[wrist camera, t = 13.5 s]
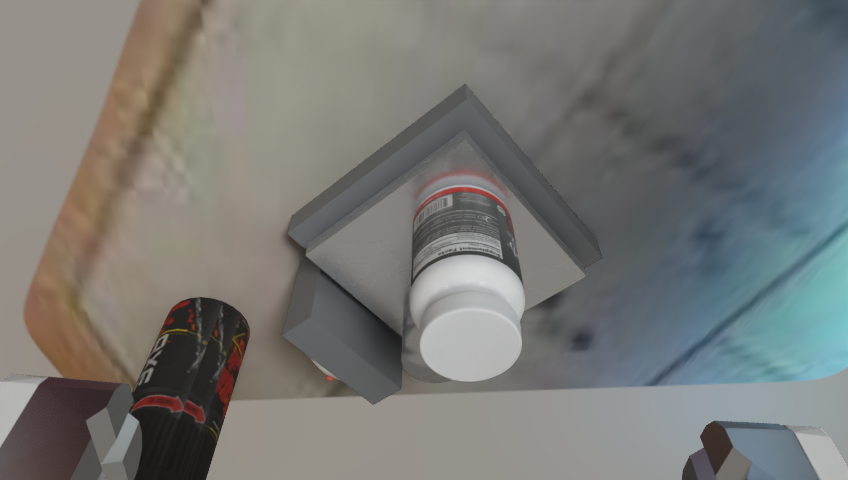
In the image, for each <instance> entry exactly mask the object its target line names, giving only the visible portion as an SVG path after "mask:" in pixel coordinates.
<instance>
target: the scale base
mask: <svg viewBox="0 0 848 480" xmlns="http://www.w3.org/2000/svg"><path fill="white" fill-rule="evenodd" d="M463 130H465V131H466V132H467V133H468V134H469V135H470V137H471V138H472V139H473V140H474V141H475V142H476V143H477V145H478V146H479V147H480V148H481V149H482V150H483V151H484V152H485V154H486V155H487V156H488V157H489V158H490V159H491V160H492V162H493V163H494V164H495V165H496V166H497V167H498V168H499V170H500V171H501V172H502V173H503V174H504V175H505V176H506V177H507V179H508V180H509V181H510V182H511V183H512V184H513V185H514V187H515V188H516V189H517V190H518V191H519V192H520V193H521V195H522V196H523V197H524V198H525V199H526V200H527V201H528V202H529V204H530V205H531V206H532V207H533V208H534V209H535V210H536V212H537V213H538V214H539V215H540V216H541V217H542V218H543V219H544V221H545V222H546V223H547V224H548V225H549V226H550V227H551V229H552V230H553V231H554V232H555V233H556V234H557V235H558V237H559V238H560V239H561V240H562V241H563V242H564V243H565V244H566V246H567V247H568V248H569V249H570V250H571V251H572V252H573V254H574V255H575V256H576V257H577V258H578V259H579V260H580V262H581V263H582V264H583V267H584V268H586V267H587V266H589V265H591V264H593V263H594V262H596V261H598V260H599V259H601V258H602V255H601V252H600V249H599V246H598V244H597V241H596V239H595V237H594V236H593V235H592V234H591V233H590V231H589V230H588V229H587V228H586V227H585V225H584V224H583V223H582V222H581V221H580V220H579V218H578V217H577V216H576V215H575V214H574V212H573V211H572V210H571V209H570V208H569V206H568V205H567V204H566V203H565V202H564V200H563V199H562V198H561V197H560V196H559V195H558V193H557V192H556V191H555V190H554V189H553V187H552V186H551V185H550V184H549V183H548V181H547V180H546V179H545V178H544V177H543V176H542V174H541V173H540V172H539V171H538V170H537V168H536V167H535V166H534V165H533V164H532V162H531V161H530V160H529V159H528V158H527V157H526V155H525V154H524V153H523V152H522V151H521V149H520V148H519V147H518V146H517V145H516V143H515V142H514V141H513V140H512V139H511V138H510V136H509V135H508V134H507V133H506V132H505V130H504V129H503V128H502V127H501V126H500V124H499V123H498V122H497V121H496V120H495V119H494V117H493V116H492V115H491V114H490V113H489V111H488V110H487V109H486V108H485V107H484V105H483V104H482V103H481V102H480V101H479V100H478V98H477V97H476V96H475V95H474V94H473V92H472V91H471V90H470V89H469V88H468V86H467V85H466V84H465V85H463V86H462V87H461V88H459V89H458V90H457V91H455V92H454V93H453V94H451V95H450V96H449V97H448V98H446V99H445V100H444V101H442V102H441V103H440V104H438V105H437V106H436V107H434V108H433V109H432V110H430V111H429V112H428V113H426V114H425V115H424V116H423V117H421V118H420V119H419V120H417V121H416V122H415V123H413V124H412V125H411V126H409V127H408V128H407V129H405V130H404V131H403V132H402V133H400V134H399V135H398V136H396V137H395V138H394V139H392V140H391V141H390V142H388V143H387V144H386V145H384V146H383V147H382V148H380V149H379V150H378V151H377V152H375V153H374V154H373V155H371V156H370V157H369V158H367V159H366V160H365V161H363V162H362V163H361V164H359V165H358V166H357V167H356V168H354V169H353V170H352V171H350V172H349V173H348V174H346V175H345V176H344V177H342V178H341V179H340V180H338V181H337V182H336V183H334V184H333V185H332V186H331V187H329V188H328V189H327V190H325V191H324V192H323V193H321V194H320V195H319V196H317V197H316V198H315V199H313V200H312V201H311V202H310V203H308V204H307V205H306V206H304V207H303V208H302V209H300V210H299V211H298V212H296V213H295V214H294V215H292V219H291V222H290V226H289V229H288V232H287V234H288V235H289V236H290V237H291V238H293V239H294V240H295V241H296V242H297V243H299V244H300V245H301V246H302V247H303V248H304V249H306V250H307V246H308V243H309V242H311V241H312V240H313V239H315V238H316V237H317V236H319V235H320V234H322V233H323V232H324V231H326V230H327V229H328V228H330V227H331V226H333V225H334V224H335V223H337V222H338V221H339V220H341V219H342V218H344V217H345V216H346V215H348V214H349V213H350V212H352V211H353V210H355V209H356V208H357V207H359V206H360V205H361V204H363V203H364V202H366V201H367V200H368V199H370V198H371V197H372V196H374V195H375V194H377V193H378V192H379V191H381V190H382V189H383V188H385V187H386V186H388V185H389V184H390V183H392V182H393V181H394V180H396V179H397V178H399V177H400V176H401V175H403V174H404V173H405V172H407V171H408V170H409V169H411V168H412V167H414V166H415V165H416V164H418V163H419V162H420V161H422V160H423V159H425V158H426V157H427V156H429V155H430V154H431V153H433V152H434V151H436V150H437V149H438V148H440V147H441V146H442V145H444V144H445V143H447V142H448V141H449V140H451V139H452V138H453V137H455V136H456V135H458V134H459V133H460V132H462V131H463ZM282 337H284V338H285V339H286V340H288V341H289V342H290V343H292V344H293V345H294V346H296V347H297V348H298V349H300V350H301V351H302V352H304V353H305V354H306V355H308V356H309V357H310V359H311V360H312V361H313V363H314V364H315V365H316V366H317V367H318V368H319V369H320V370H321V371H322V372H324V373H325V374H326V379H328V380H329V381H332V380H334V379H337V380H341V381H342V382H344V383H345V384H346V385H348V386H349V387H350V388H352V389H353V390H354V391H355V392H357V393H358V394H359V395H361V396H362V397H364V398H365V399H366V400H368V401H369V402H370V403H371V404H375V403H377V402H379V401H381V400H383V399H384V398H386V397H388V396H390V395H391V394H393V393H395V392H397V391H399V390H400V389H401V384H402V361H401V357H402V337H401V336H400V335H399V334H398V333H397V332H395V331H394V330H393V329H392V328H391V327H389V326H388V325H387V324H386V323H385V322H384V321H382V320H381V319H380V318H379V317H378V316H376V315H375V314H374V313H373V312H372V311H371V310H369V309H368V308H367V307H366V306H365V305H363V304H362V303H361V302H360V301H359V300H358V299H356V298H355V297H354V296H353V295H352V294H350V293H349V292H348V291H347V290H346V289H345V288H343V287H342V286H341V285H340V284H339V283H337V282H336V281H335V280H334V279H333V278H332V277H330V276H329V275H328V274H327V273H326V272H324V271H323V270H322V269H321V268H320V267H319V266H317V265H316V264H315V263H314V262H313V261H311V260H310V259H309V258H308V257H307V258H306V259H304V260H303V261H302V262H300V266H299V270H298V274H297V277H296V281H295V285H294V289H293V293H292V297H291V301H290V305H289V309H288V313H287V317H286V321H285V325H284V329H283V333H282Z"/></svg>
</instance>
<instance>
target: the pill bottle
mask: <svg viewBox="0 0 848 480" xmlns="http://www.w3.org/2000/svg"><path fill="white" fill-rule="evenodd" d="M409 305H410V312H411V316H412V318H413V321H414V323H415V324H416V326H417V328H418V329H419V348H420V353H421V356H422V358H423V360H424V361H425V363H426V364H427V365H428V366H429V367H430V368H431V369H432V370H433V371H435V372H436V373H438V374H439V375H441V376H444V377H446V378H449V379H452V380H457V381H465V382H474V381H482V380H486V379H490V378H493V377H495V376H497V375H499V374H501V373H503V372H505V371H506V370H507V369H509V368H510V367H511V366H512V365H513V364H514V363H515V361H516V360H517V358H518V357H519V355H520V352H521V348H522V337H521V325H520V320H521V317H522V315H523V312H524V307H525V293H524V286H523V280H522V275H521V269H520V263H519V258H518V252H517V246H516V240H515V235H514V229H513V224H512V220H511V216H510V213H509V211H508V209H507V207H506V206H505V204H504V203H503V202H502V201H501V200H500V199H499V198H498V197H497V196H496V195H495V194H493V193H492V192H490V191H488V190H486V189H483V188H481V187H477V186H473V185H453V186H448V187H445V188H442V189H440V190H438V191H436V192H434V193H432V194H431V195H429V196H428V197H427V198H426V199H425V200H424V201H423V202H422V203H421V204H420V205H419V207H418V209H417V211H416V212H415V215H414V218H413V222H412V233H411V261H410V289H409Z"/></svg>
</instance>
